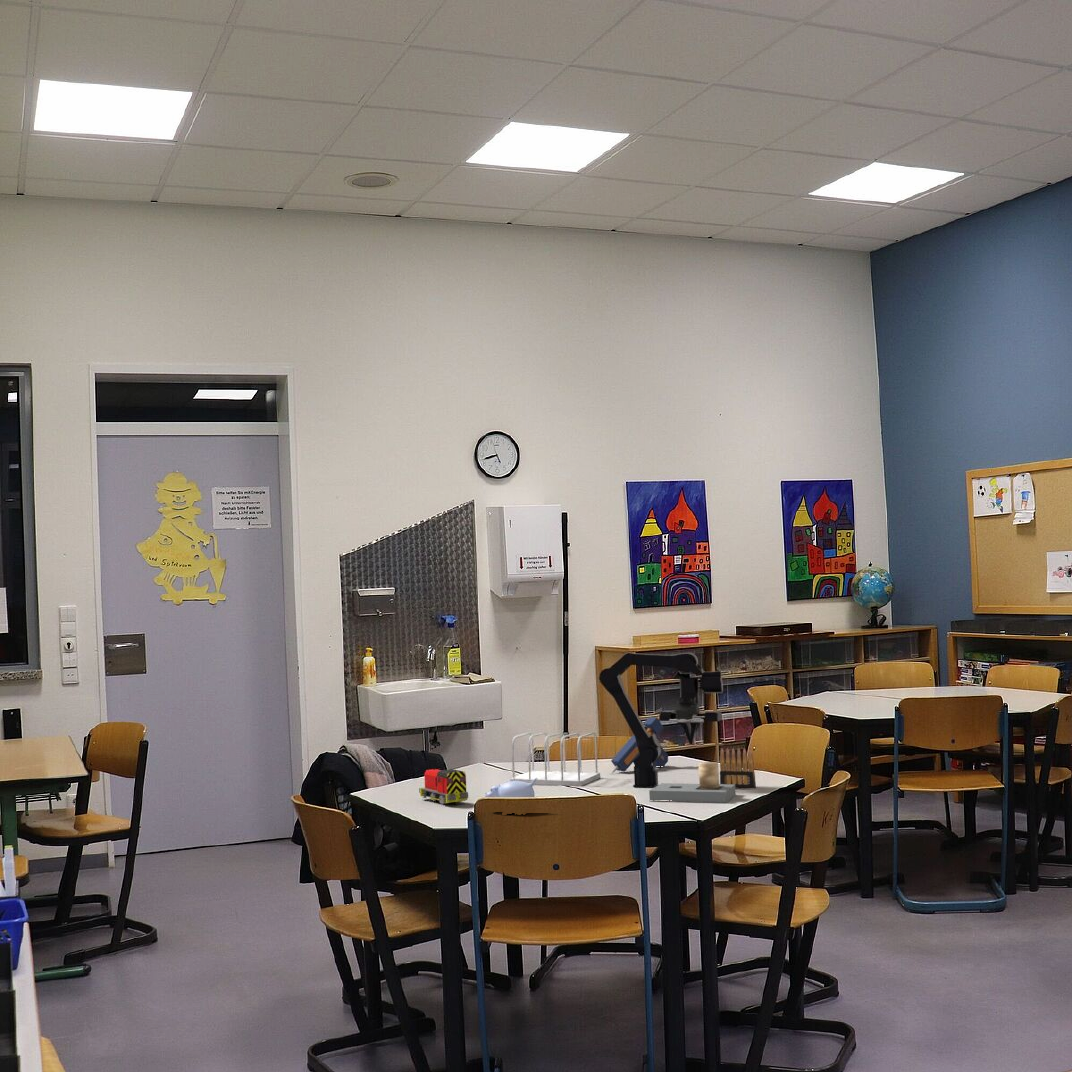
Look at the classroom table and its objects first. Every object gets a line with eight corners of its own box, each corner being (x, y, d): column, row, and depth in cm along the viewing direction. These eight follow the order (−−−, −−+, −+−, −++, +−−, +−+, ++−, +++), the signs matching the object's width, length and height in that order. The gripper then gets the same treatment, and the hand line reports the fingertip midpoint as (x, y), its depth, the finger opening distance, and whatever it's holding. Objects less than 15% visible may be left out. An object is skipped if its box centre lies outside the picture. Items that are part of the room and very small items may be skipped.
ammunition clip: (720, 787, 356) (718, 748, 357) (721, 786, 357) (719, 747, 358) (754, 788, 351) (752, 748, 352) (756, 788, 353) (754, 747, 354)
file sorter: (509, 784, 380) (507, 736, 381) (531, 776, 396) (529, 730, 397) (581, 786, 370) (579, 736, 371) (600, 778, 386) (598, 730, 387)
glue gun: (625, 801, 399) (604, 768, 394) (672, 740, 417) (651, 708, 412) (638, 802, 394) (616, 768, 390) (684, 740, 412) (664, 708, 407)
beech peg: (698, 799, 336) (696, 764, 336) (702, 796, 341) (701, 761, 342) (717, 800, 334) (715, 764, 334) (722, 797, 339) (720, 762, 340)
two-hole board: (649, 801, 337) (649, 790, 337) (662, 793, 350) (662, 783, 350) (725, 802, 329) (724, 792, 329) (735, 794, 342) (735, 784, 342)
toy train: (448, 807, 340) (447, 772, 341) (418, 800, 356) (417, 766, 357) (469, 804, 344) (467, 770, 344) (438, 797, 360) (437, 764, 361)
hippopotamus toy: (492, 809, 335) (490, 775, 335) (542, 809, 331) (541, 775, 332) (480, 815, 324) (479, 781, 325) (533, 816, 321) (531, 780, 321)
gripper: (652, 695, 360) (654, 746, 359) (711, 695, 352) (713, 748, 351) (663, 692, 370) (665, 742, 369) (721, 692, 362) (723, 743, 361)
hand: (691, 744), depth 362 cm, fingers closed
